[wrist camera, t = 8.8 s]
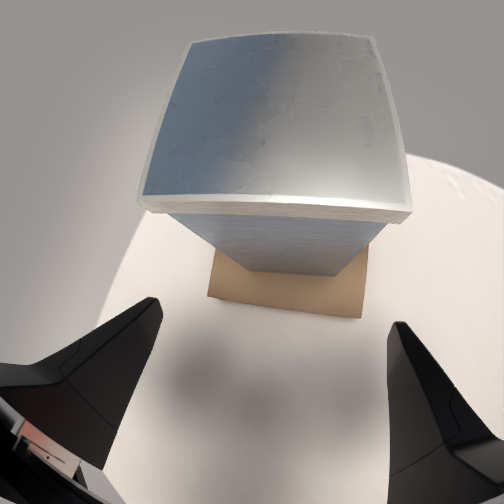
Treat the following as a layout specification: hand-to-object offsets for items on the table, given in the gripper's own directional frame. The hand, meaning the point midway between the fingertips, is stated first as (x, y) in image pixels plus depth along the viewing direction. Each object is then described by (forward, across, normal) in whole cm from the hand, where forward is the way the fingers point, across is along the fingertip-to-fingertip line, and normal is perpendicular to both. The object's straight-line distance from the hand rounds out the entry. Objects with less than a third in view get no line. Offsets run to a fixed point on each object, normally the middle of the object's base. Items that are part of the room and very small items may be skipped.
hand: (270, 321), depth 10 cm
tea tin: (+9, 0, +1) cm, 9 cm away
